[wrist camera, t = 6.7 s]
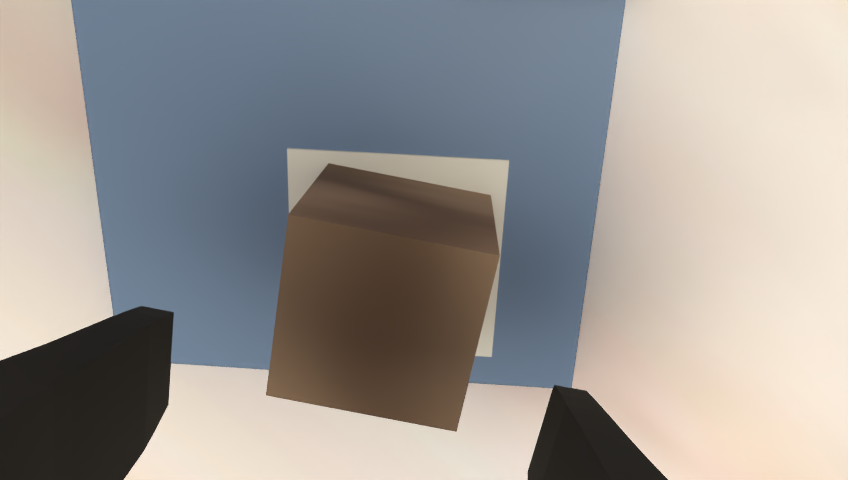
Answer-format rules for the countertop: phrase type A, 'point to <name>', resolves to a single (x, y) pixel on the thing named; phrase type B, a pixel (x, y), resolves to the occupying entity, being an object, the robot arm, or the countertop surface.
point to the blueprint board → (345, 150)
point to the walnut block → (383, 296)
